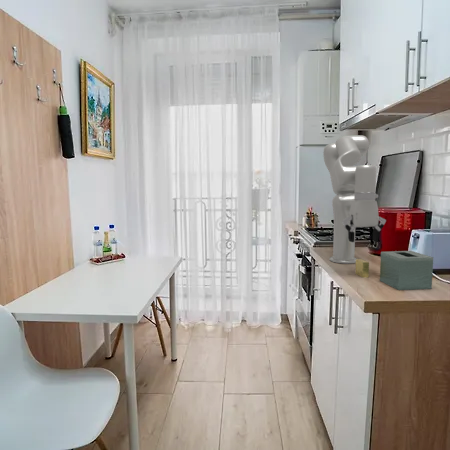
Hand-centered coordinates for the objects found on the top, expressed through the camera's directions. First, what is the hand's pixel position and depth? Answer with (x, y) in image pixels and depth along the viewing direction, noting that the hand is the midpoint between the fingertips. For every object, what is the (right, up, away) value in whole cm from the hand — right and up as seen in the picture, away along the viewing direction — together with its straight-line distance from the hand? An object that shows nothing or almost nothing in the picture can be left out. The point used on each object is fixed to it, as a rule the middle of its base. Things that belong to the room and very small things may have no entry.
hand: (363, 241), depth 136 cm
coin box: (+10, -15, -11) cm, 21 cm away
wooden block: (0, -14, +2) cm, 14 cm away
